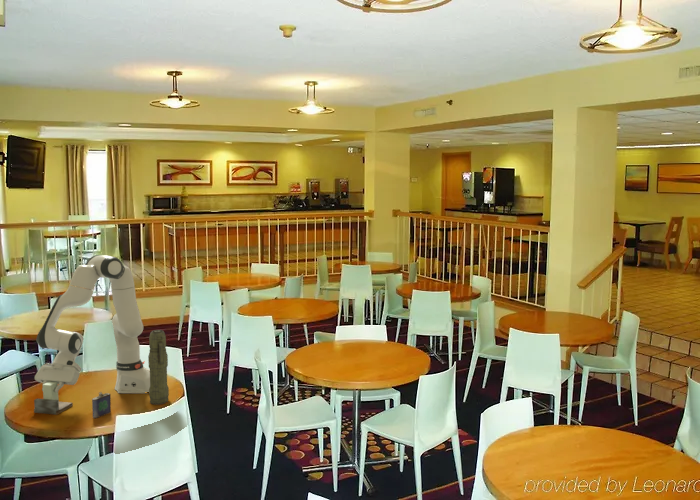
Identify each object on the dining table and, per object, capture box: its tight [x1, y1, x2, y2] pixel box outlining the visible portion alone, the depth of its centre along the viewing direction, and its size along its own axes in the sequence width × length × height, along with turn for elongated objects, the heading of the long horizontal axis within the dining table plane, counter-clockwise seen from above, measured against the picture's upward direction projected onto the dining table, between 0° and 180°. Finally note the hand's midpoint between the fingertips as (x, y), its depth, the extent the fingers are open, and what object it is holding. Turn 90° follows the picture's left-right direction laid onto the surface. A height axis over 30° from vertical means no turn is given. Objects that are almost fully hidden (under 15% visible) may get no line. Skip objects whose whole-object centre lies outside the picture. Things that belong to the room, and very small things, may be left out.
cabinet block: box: [42, 381, 60, 402], centre depth 273 cm, size 4×4×10 cm
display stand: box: [33, 398, 74, 415], centre depth 274 cm, size 12×11×6 cm
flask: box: [91, 391, 112, 419], centre depth 268 cm, size 9×3×11 cm, turn 151°
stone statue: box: [147, 329, 170, 405], centre depth 284 cm, size 9×12×35 cm
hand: (49, 391), depth 272 cm, fingers closed on cabinet block, 4 cm apart
